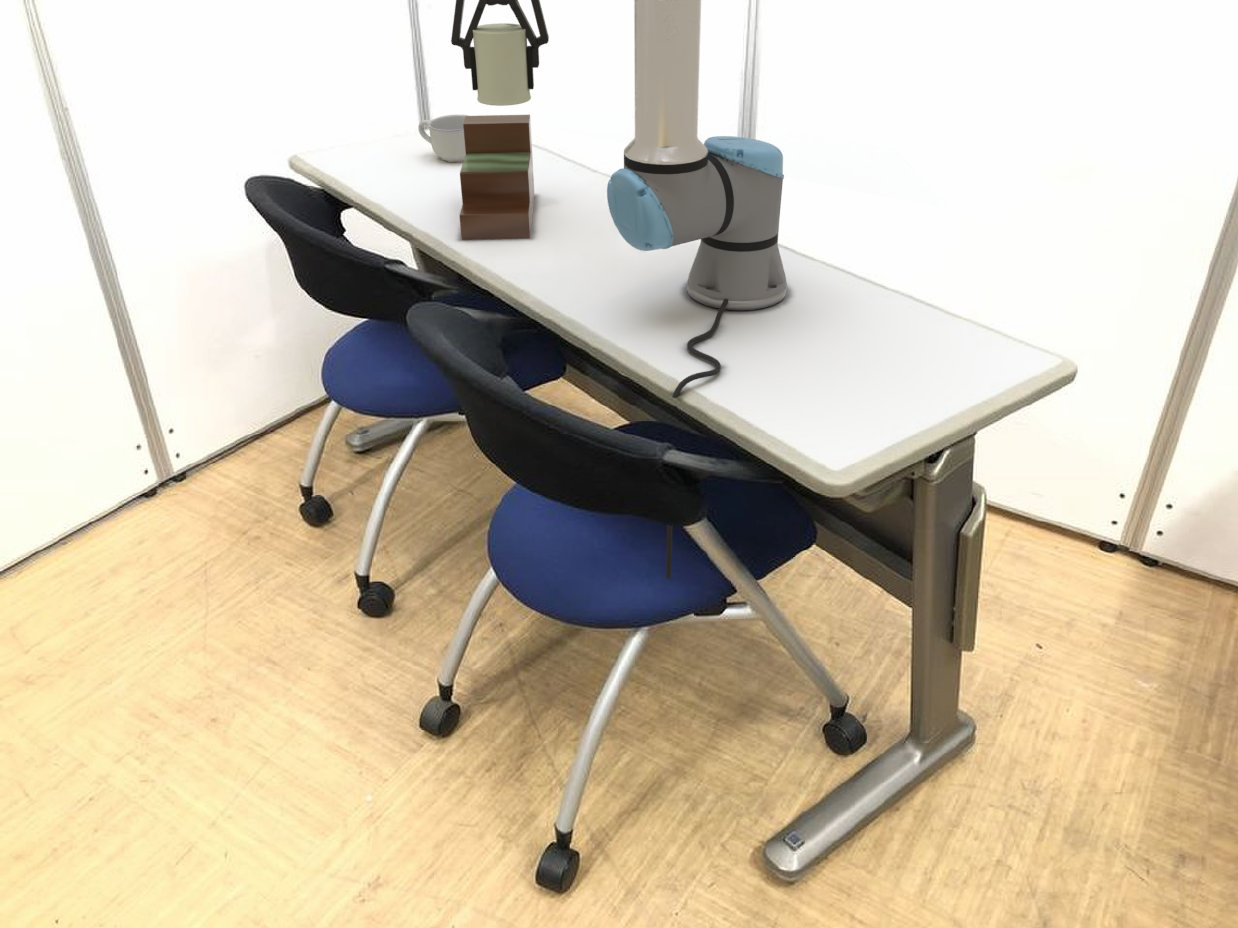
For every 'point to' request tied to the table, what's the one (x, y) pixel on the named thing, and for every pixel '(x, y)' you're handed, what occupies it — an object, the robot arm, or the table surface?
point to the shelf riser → (497, 178)
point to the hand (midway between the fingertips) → (503, 88)
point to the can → (501, 64)
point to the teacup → (446, 136)
